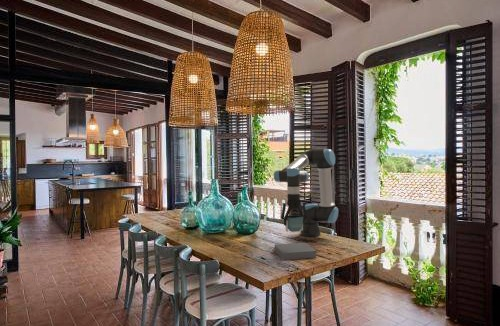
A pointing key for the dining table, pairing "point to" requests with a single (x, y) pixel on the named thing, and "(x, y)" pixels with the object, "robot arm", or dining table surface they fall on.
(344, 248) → the dining table surface
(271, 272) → the dining table surface
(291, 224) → the flower pot
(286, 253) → the plinth
